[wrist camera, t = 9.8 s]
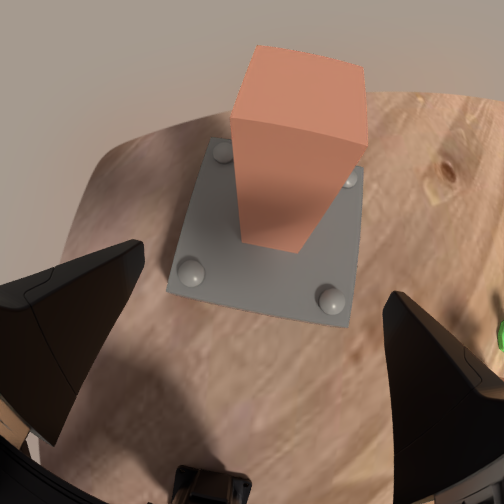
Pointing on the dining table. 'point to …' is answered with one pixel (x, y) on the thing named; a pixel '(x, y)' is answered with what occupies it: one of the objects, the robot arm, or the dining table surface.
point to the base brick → (266, 252)
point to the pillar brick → (294, 142)
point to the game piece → (501, 336)
